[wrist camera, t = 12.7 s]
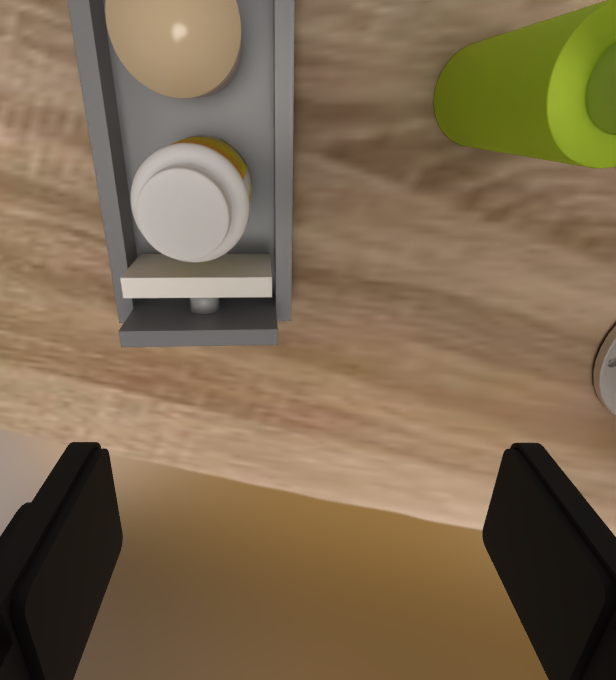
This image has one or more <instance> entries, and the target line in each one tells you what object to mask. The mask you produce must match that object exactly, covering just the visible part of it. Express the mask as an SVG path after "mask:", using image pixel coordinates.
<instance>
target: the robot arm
mask: <svg viewBox="0 0 616 680" xmlns="http://www.w3.org/2000/svg"><path fill="white" fill-rule="evenodd" d="M593 378H594V387H595V391H596V394H597V396H598V398H599V400H600V401H601V403H602V404H603V405H604V406H605V407H606V408H607V409H608V410H609V411H610V412H612V413H613V414H614V415H615V416H616V325H615V327H614V328H613V329H612V330H611V332H610V333H609V334H608V336H607V337H606V339H605V341H604V343H603V344H602V346H601V348H600V350H599V353H598V356H597V358H596V361H595V367H594V372H593ZM122 538H123V535H122V528H121V522H120V516H119V511H118V505H117V498H116V493H115V487H114V481H113V474H112V468H111V462H110V457H109V452H108V450H107V449H101V446H100V444H99V443H97V442H72V443H70V444H69V445H68V447H67V448H66V450H65V451H64V453H63V454H62V456H61V457H60V459H59V460H58V462H57V463H56V465H55V467H54V468H53V470H52V471H51V473H50V474H49V476H48V478H47V479H46V481H45V482H44V484H43V485H42V487H41V488H40V490H39V491H38V493H37V494H36V496H35V498H34V499H33V501H32V502H31V503H26V504H24V505H22V506H21V508H19V510H18V511H17V512H16V514H15V515H14V517H13V518H12V520H11V521H10V523H9V524H8V526H7V527H6V529H5V530H4V532H3V533H2V535H1V536H0V680H73V679H74V676H75V673H76V671H77V668H78V665H79V662H80V660H81V657H82V654H83V652H84V649H85V646H86V643H87V641H88V638H89V635H90V633H91V630H92V627H93V624H94V622H95V619H96V616H97V613H98V611H99V608H100V605H101V603H102V600H103V597H104V594H105V592H106V589H107V586H108V584H109V581H110V578H111V575H112V573H113V570H114V567H115V565H116V562H117V559H118V556H119V554H120V551H121V547H122ZM483 541H484V545H485V547H486V549H487V552H488V554H489V556H490V558H491V560H492V562H493V564H494V566H495V568H496V570H497V572H498V575H499V577H500V579H501V581H502V583H503V585H504V587H505V589H506V591H507V593H508V595H509V597H510V600H511V602H512V604H513V606H514V608H515V610H516V612H517V614H518V616H519V618H520V620H521V623H522V625H523V627H524V629H525V631H526V633H527V635H528V637H529V639H530V641H531V643H532V645H533V647H534V650H535V652H536V654H537V656H538V658H539V660H540V662H541V664H542V666H543V668H544V671H545V673H546V675H547V677H548V679H549V680H616V537H615V536H614V534H613V533H612V532H611V531H610V529H609V528H608V527H607V526H606V524H605V523H604V522H603V521H602V519H601V518H600V517H599V516H598V514H597V513H596V512H595V511H594V509H593V508H592V507H591V506H590V504H589V503H588V502H587V501H586V499H585V498H584V497H583V496H582V494H581V493H580V492H579V491H578V490H577V488H576V487H575V486H574V485H573V483H572V482H571V481H570V480H569V478H568V477H567V476H566V475H565V473H564V472H563V471H562V470H561V468H560V467H559V466H558V465H557V463H556V462H555V461H554V460H553V458H552V457H551V456H550V455H549V453H548V452H547V451H546V450H545V448H544V447H543V446H542V445H541V444H539V443H514V444H512V446H511V448H510V449H506V450H505V451H504V454H503V457H502V461H501V465H500V468H499V472H498V476H497V479H496V483H495V487H494V490H493V494H492V498H491V501H490V505H489V509H488V512H487V516H486V520H485V524H484V527H483Z"/></svg>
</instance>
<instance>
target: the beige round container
mask: <svg viewBox="0 0 616 680" xmlns="http://www.w3.org/2000/svg"><path fill="white" fill-rule="evenodd" d="M105 15H106V24H107V29H108V33H109V36H110V40H111V43H112V45H113V47H114V50H115V52H116V53H117V55H118V57H119V59H120V61H121V62H122V63H123V65H124V66H125V68H126V69H127V70H128V71H129V72H130V73H131V74H132V76H133V77H135V78H136V79H137V80H138V81H139V82H140V83H142V84H143V85H144V86H146V87H147V88H149V89H151V90H153V91H155V92H157V93H159V94H162V95H165V96H169V97H174V98H183V99H185V98H202V97H208V96H211V95H214V94H216V93H218V92H219V91H221V90H222V89H224V88H225V87H226V86H227V85H228V84H229V83H230V81H231V80H232V79H233V77H234V76H235V74H236V72H237V70H238V67H239V64H240V60H241V55H242V36H241V34H242V29H241V19H240V14H239V9H238V5H237V2H236V0H106V1H105Z"/></svg>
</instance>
